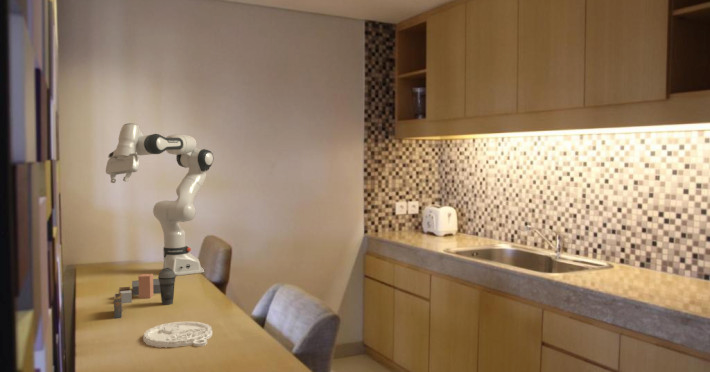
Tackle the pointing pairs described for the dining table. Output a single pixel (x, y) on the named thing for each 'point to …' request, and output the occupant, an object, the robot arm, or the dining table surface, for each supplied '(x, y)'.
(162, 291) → the beverage cup
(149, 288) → the terracotta block
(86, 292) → the dining table surface
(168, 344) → the medallion
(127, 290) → the walnut block
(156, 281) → the block
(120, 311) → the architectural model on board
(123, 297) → the grey plastic block
